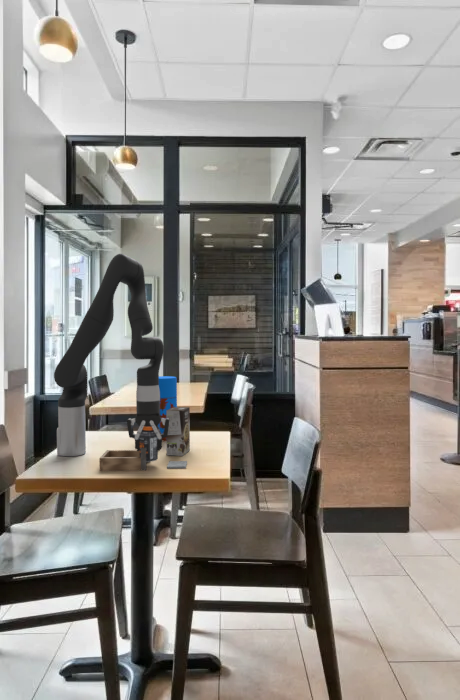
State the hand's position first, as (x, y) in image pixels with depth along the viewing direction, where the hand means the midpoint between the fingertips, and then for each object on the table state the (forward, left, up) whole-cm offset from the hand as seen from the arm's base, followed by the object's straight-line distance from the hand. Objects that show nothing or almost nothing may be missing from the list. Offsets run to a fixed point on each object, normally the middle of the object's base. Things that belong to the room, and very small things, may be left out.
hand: (148, 450), depth 171 cm
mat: (+9, 0, -5) cm, 11 cm away
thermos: (0, +44, -5) cm, 45 cm away
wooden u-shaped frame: (-8, 0, -5) cm, 9 cm away
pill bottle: (0, 0, -3) cm, 3 cm away
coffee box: (+8, +18, -5) cm, 21 cm away
